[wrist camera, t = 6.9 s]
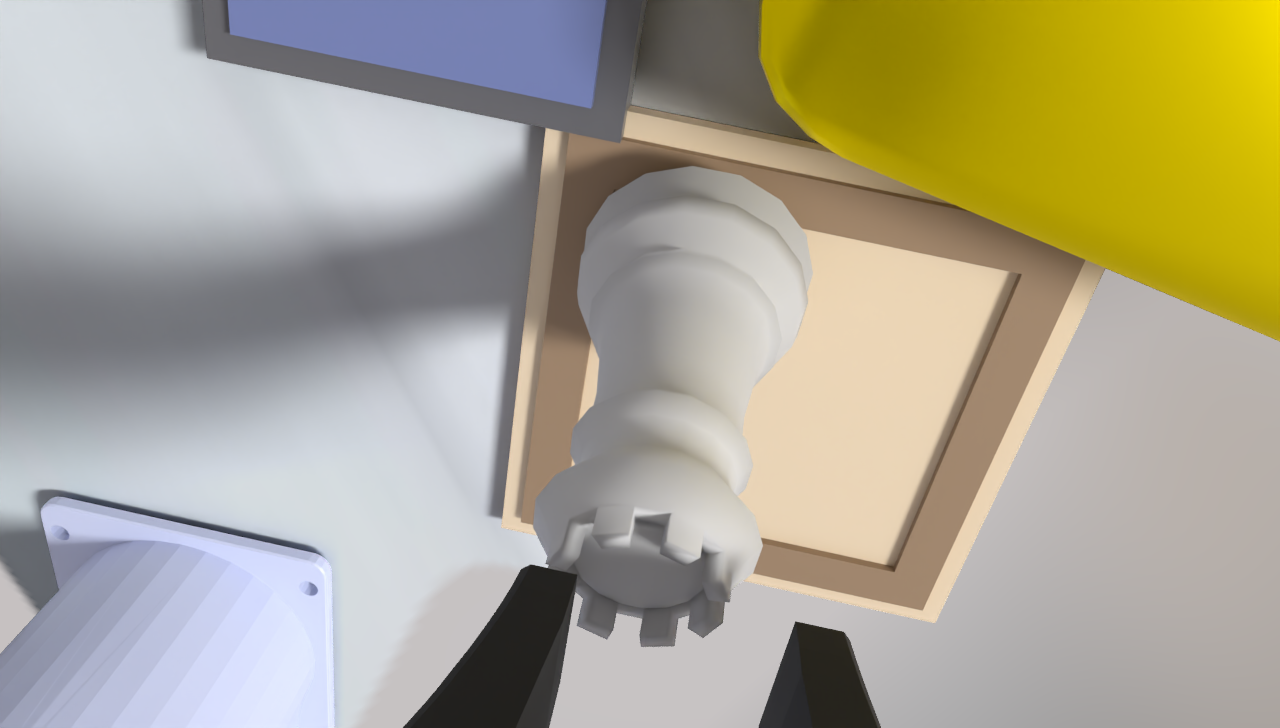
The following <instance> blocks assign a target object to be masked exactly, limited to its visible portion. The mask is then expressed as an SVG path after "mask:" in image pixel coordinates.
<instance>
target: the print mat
mask: <svg viewBox="0 0 1280 728" xmlns="http://www.w3.org/2000/svg"><path fill="white" fill-rule="evenodd" d="M689 166H695V167H701V168H706V169H711V170H716V171H721V172H726V173H731V174H736V175H741V176H743V177H744V178H746V179H747V180H749V181H751V182H752V183H754V184H756V185H757V186H759V187H760V188H762V189H764V190H765V191H767V192H769V193H770V194H772V195H773V196H775V197H777V198H778V199H780V200H781V201H782V202H783V204H784V205H785V206H786V208H787V209H788V210H789V212H790V213H791V215H792V216H793V217H794V219H795V220H796V222H797V223H798V224H799V226H800V227H801V229H802V230H803V231H804V233H805V234H806V236H807V242H808V248H809V253H810V259H811V265H812V271H813V276H812V279H811V282H810V285H809V288H808V291H807V296H808V304H807V308H806V311H805V314H804V317H803V320H802V323H801V326H800V329H799V332H798V335H797V338H796V340H795V341H794V343H793V345H792V347H791V348H790V349H789V350H788V351H787V352H786V354H785V355H784V356H783V357H782V358H781V359H780V360H779V361H778V362H777V363H776V364H775V365H774V366H773V368H772V369H771V370H770V371H769V372H768V373H767V374H766V375H765V376H764V377H763V378H762V379H761V380H760V381H759V382H758V383H757V384H756V385H755V386H754V388H753V390H752V393H751V396H750V400H749V403H748V406H747V410H746V413H745V417H744V425H743V436H744V437H745V438H746V440H747V443H748V447H749V451H750V455H751V459H752V463H753V468H752V471H751V474H750V477H749V480H748V483H747V486H746V489H745V490H744V491H743V492H742V493H741V494H740V495H739V496H738V497H739V499H740V500H741V501H742V502H743V503H744V504H745V505H746V506H747V508H748V509H749V510H750V511H751V512H752V513H753V514H754V515H755V518H756V522H757V526H758V529H759V533H760V537H761V540H762V544H763V547H762V550H761V553H760V556H759V558H758V561H757V564H756V567H755V569H754V572H753V574H751V575H750V576H749V577H748V578H746V579H745V580H744V581H746V582H751V583H755V584H760V585H764V586H769V587H774V588H778V589H782V590H787V591H792V592H796V593H800V594H805V595H809V596H814V597H819V598H824V599H828V600H833V601H837V602H841V603H846V604H851V605H855V606H859V607H864V608H869V609H873V610H878V611H882V612H887V613H891V614H896V615H900V616H905V617H909V618H914V619H919V620H923V621H928V622H932V623H935V622H936V620H937V618H938V616H939V614H940V612H941V610H942V608H943V606H944V603H945V602H946V600H947V597H948V595H949V593H950V591H951V589H952V587H953V585H954V583H955V581H956V579H957V577H958V575H959V572H960V570H961V568H962V566H963V564H964V562H965V560H966V558H967V556H968V554H969V552H970V550H971V547H972V545H973V543H974V541H975V539H976V537H977V535H978V533H979V531H980V529H981V527H982V524H983V522H984V520H985V518H986V516H987V514H988V512H989V510H990V508H991V506H992V504H993V502H994V500H995V497H996V495H997V493H998V491H999V489H1000V487H1001V485H1002V483H1003V481H1004V479H1005V476H1006V474H1007V472H1008V470H1009V468H1010V466H1011V464H1012V462H1013V460H1014V458H1015V456H1016V453H1017V452H1018V450H1019V447H1020V445H1021V443H1022V441H1023V439H1024V437H1025V435H1026V433H1027V431H1028V429H1029V427H1030V425H1031V422H1032V420H1033V418H1034V416H1035V414H1036V412H1037V410H1038V408H1039V406H1040V404H1041V402H1042V399H1043V397H1044V395H1045V393H1046V391H1047V389H1048V387H1049V385H1050V383H1051V381H1052V379H1053V377H1054V375H1055V372H1056V370H1057V368H1058V366H1059V364H1060V362H1061V360H1062V358H1063V356H1064V354H1065V352H1066V350H1067V347H1068V345H1069V343H1070V341H1071V339H1072V337H1073V335H1074V333H1075V331H1076V329H1077V327H1078V325H1079V322H1080V320H1081V318H1082V316H1083V314H1084V312H1085V310H1086V308H1087V306H1088V304H1089V302H1090V300H1091V297H1092V295H1093V293H1094V291H1095V289H1096V287H1097V285H1098V283H1099V281H1100V279H1101V276H1102V275H1103V272H1104V270H1105V268H1104V267H1102V266H1099V265H1097V264H1094V263H1092V262H1090V261H1087V260H1085V259H1082V258H1080V257H1078V256H1075V255H1073V254H1071V253H1068V252H1066V251H1063V250H1061V249H1059V248H1056V247H1054V246H1052V245H1049V244H1047V243H1044V242H1042V241H1040V240H1037V239H1035V238H1032V237H1030V236H1028V235H1025V234H1023V233H1021V232H1018V231H1016V230H1013V229H1011V228H1009V227H1006V226H1004V225H1002V224H999V223H997V222H994V221H992V220H990V219H987V218H985V217H982V216H980V215H978V214H975V213H973V212H971V211H968V210H966V209H963V208H961V207H959V206H956V205H954V204H952V203H949V202H947V201H944V200H942V199H940V198H937V197H935V196H932V195H930V194H928V193H925V192H923V191H921V190H918V189H916V188H913V187H911V186H909V185H906V184H904V183H901V182H899V181H897V180H894V179H892V178H890V177H887V176H885V175H882V174H880V173H878V172H875V171H873V170H871V169H868V168H866V167H863V166H861V165H859V164H856V163H854V162H851V161H849V160H847V159H844V158H842V157H840V156H839V155H837V154H835V153H834V152H832V151H831V150H829V149H828V148H826V147H824V146H823V145H821V144H818V143H813V142H808V141H803V140H798V139H793V138H788V137H784V136H779V135H774V134H769V133H764V132H759V131H754V130H749V129H745V128H740V127H735V126H730V125H725V124H720V123H715V122H710V121H706V120H701V119H696V118H691V117H686V116H681V115H676V114H671V113H667V112H662V111H657V110H652V109H647V108H642V107H637V106H632V105H630V107H629V109H628V111H627V117H626V123H625V130H624V136H623V139H622V141H621V143H616V142H611V141H606V140H601V139H597V138H592V137H587V136H582V135H577V134H572V133H567V132H563V131H558V130H553V129H548V128H546V130H545V139H544V148H543V157H542V166H541V175H540V184H539V193H538V202H537V211H536V220H535V229H534V238H533V247H532V256H531V265H530V274H529V283H528V292H527V301H526V310H525V319H524V328H523V337H522V346H521V355H520V364H519V373H518V382H517V391H516V400H515V409H514V418H513V427H512V436H511V445H510V454H509V463H508V472H507V481H506V490H505V499H504V508H503V517H502V526H501V528H505V529H510V530H514V531H519V532H524V533H528V534H533V535H537V534H536V532H535V530H534V528H533V521H534V510H535V499H536V498H537V496H538V495H539V494H540V493H541V492H542V490H543V489H544V488H545V487H546V486H547V484H548V483H549V482H550V481H551V480H552V478H553V477H554V476H555V475H556V474H558V473H560V472H562V471H564V470H566V469H568V468H570V467H572V466H574V465H575V463H574V461H573V459H572V456H571V454H570V449H571V440H572V432H573V428H574V426H575V425H576V424H577V423H578V422H579V420H580V419H581V418H582V417H583V415H584V414H585V413H586V412H587V410H588V409H589V408H590V407H592V406H593V405H594V401H595V397H596V393H597V381H598V368H599V357H598V355H597V352H596V349H595V347H594V344H593V341H592V339H591V337H590V334H589V332H588V329H587V326H586V324H585V321H584V318H583V316H582V313H581V310H580V307H579V305H578V296H577V288H578V278H579V269H580V260H581V255H582V254H583V252H584V248H585V239H586V230H587V227H588V226H589V224H590V223H591V221H592V220H593V218H594V217H595V215H596V214H597V212H598V211H599V209H600V208H601V206H602V205H603V203H604V202H605V200H606V199H607V197H608V196H609V195H611V194H612V193H614V192H616V191H617V190H619V189H621V188H622V187H624V186H626V185H627V184H629V183H631V182H632V181H634V180H636V179H637V178H639V177H641V176H642V175H644V174H646V173H652V172H658V171H664V170H670V169H677V168H683V167H689Z"/></svg>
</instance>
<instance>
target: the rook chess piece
mask: <svg viewBox="0 0 1280 728" xmlns="http://www.w3.org/2000/svg"><path fill="white" fill-rule="evenodd" d="M812 276H813V271H812V265H811V259H810V253H809V248H808V242H807V236H806V234H805V233H804V231H803V230H802V229H801V227H800V226H799V224H798V223H797V222H796V220H795V219H794V217H793V216H792V215H791V213H790V212H789V210H788V209H787V208H786V206H785V205H784V204H783V202H782V201H781V200H780V199H778V198H777V197H775V196H773V195H772V194H770V193H769V192H767V191H765V190H764V189H762V188H760V187H759V186H757V185H756V184H754V183H752V182H751V181H749V180H747V179H746V178H744V177H743V176H741V175H736V174H731V173H726V172H721V171H716V170H711V169H706V168H701V167H695V166H689V167H683V168H677V169H670V170H664V171H658V172H652V173H646V174H644V175H642V176H641V177H639V178H637V179H636V180H634V181H632V182H631V183H629V184H627V185H626V186H624V187H622V188H621V189H619V190H617V191H616V192H614V193H612V194H611V195H609V196H608V197H607V199H606V200H605V202H604V203H603V205H602V206H601V208H600V209H599V211H598V212H597V214H596V215H595V217H594V218H593V220H592V221H591V223H590V224H589V226H588V227H587V230H586V239H585V248H584V252H583V254H582V255H581V260H580V269H579V278H578V288H577V296H578V305H579V307H580V310H581V313H582V316H583V318H584V321H585V324H586V326H587V329H588V332H589V334H590V337H591V339H592V341H593V344H594V347H595V349H596V352H597V355H598V357H599V368H598V381H597V393H596V397H595V401H594V405H593V406H592V407H590V408H589V409H588V410H587V412H586V413H585V414H584V415H583V417H582V418H581V419H580V420H579V422H578V423H577V424H576V425H575V426H574V428H573V432H572V440H571V449H570V454H571V456H572V459H573V461H574V463H575V465H574V466H572V467H570V468H568V469H566V470H564V471H562V472H560V473H558V474H556V475H555V476H554V477H553V478H552V480H551V481H550V482H549V483H548V484H547V486H546V487H545V488H544V489H543V490H542V492H541V493H540V494H539V495H538V496H537V498H536V499H535V510H534V521H533V528H534V530H535V532H536V534H537V536H538V538H539V540H540V542H541V544H542V546H543V548H544V550H545V552H546V554H547V556H548V557H547V560H546V564H548V565H549V566H548V568H549V569H554V570H558V571H563V572H568V573H572V574H577V575H578V577H577V583H576V589H575V592H576V593H577V594H579V595H580V596H581V597H582V598H583V602H582V606H581V610H580V614H579V619H578V623H577V626H579V627H581V628H583V629H585V630H587V631H589V632H592V633H594V634H596V635H598V636H600V637H603V638H605V639H608V637H609V635H610V634H611V632H612V631H613V628H614V623H615V618H616V613H619V614H623V615H628V616H633V617H637V618H642V625H641V630H640V643H641V647H649V646H650V647H651V646H652V647H657V646H674V645H675V638H676V630H677V624H678V618H682V617H685V616H688V615H690V616H689V623H688V629H690V630H691V631H693V632H695V633H696V634H698V635H699V636H701V637H702V638H704V637H705V636H706V635H708V634H709V633H710V632H711V631H713V630H714V629H715V628H717V627H718V626H719V625H721V624H722V623H723V615H724V604H725V602H730V595H731V590H733V589H734V588H735V587H736V586H738V585H739V584H740V583H741V582H743V581H744V580H745V579H746V578H748V577H749V576H750V575H751V574H753V572H754V569H755V567H756V564H757V561H758V558H759V556H760V553H761V550H762V547H763V544H762V540H761V537H760V533H759V529H758V526H757V522H756V518H755V515H754V514H753V513H752V512H751V511H750V510H749V509H748V508H747V506H746V505H745V504H744V503H743V502H742V501H741V500H740V499H739V497H738V496H739V495H740V494H741V493H742V492H743V491H744V490H745V489H746V486H747V483H748V480H749V477H750V474H751V471H752V468H753V463H752V459H751V455H750V451H749V447H748V443H747V440H746V438H745V437H744V436H743V425H744V417H745V413H746V410H747V406H748V403H749V400H750V396H751V393H752V390H753V388H754V386H755V385H756V384H757V383H758V382H759V381H760V380H761V379H762V378H763V377H764V376H765V375H766V374H767V373H768V372H769V371H770V370H771V369H772V368H773V366H774V365H775V364H776V363H777V362H778V361H779V360H780V359H781V358H782V357H783V356H784V355H785V354H786V352H787V351H788V350H789V349H790V348H791V347H792V345H793V343H794V341H795V340H796V338H797V335H798V332H799V329H800V326H801V323H802V320H803V317H804V314H805V311H806V308H807V304H808V296H807V291H808V288H809V285H810V282H811V279H812Z"/></svg>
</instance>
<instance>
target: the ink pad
mask: <svg viewBox="0 0 1280 728" xmlns="http://www.w3.org/2000/svg"><path fill="white" fill-rule="evenodd" d="M202 3H203V15H204V27H205V39H206V51H207V58H209V59H214V60H219V61H223V62H228V63H233V64H238V65H243V66H248V67H253V68H257V69H262V70H267V71H272V72H277V73H282V74H286V75H291V76H296V77H301V78H306V79H311V80H316V81H320V82H325V83H330V84H335V85H340V86H345V87H349V88H354V89H359V90H364V91H369V92H374V93H378V94H383V95H388V96H393V97H398V98H403V99H408V100H412V101H417V102H422V103H427V104H432V105H437V106H441V107H446V108H451V109H456V110H461V111H466V112H471V113H475V114H480V115H485V116H490V117H495V118H500V119H504V120H509V121H514V122H519V123H524V124H529V125H534V126H538V127H543V128H548V129H553V130H558V131H563V132H567V133H572V134H577V135H582V136H587V137H592V138H597V139H601V140H606V141H611V142H616V143H621V141H622V139H623V136H624V130H625V123H626V117H627V111H628V109H629V107H630V105H631V99H632V93H633V86H634V80H635V74H636V67H637V61H638V55H639V49H640V42H641V36H642V30H643V23H644V17H645V11H646V5H647V0H202Z"/></svg>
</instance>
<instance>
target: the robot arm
mask: <svg viewBox="0 0 1280 728" xmlns="http://www.w3.org/2000/svg"><path fill="white" fill-rule="evenodd" d="M41 518H42V522H43V527H44V531H45V535H46V539H47V543H48V547H49V552H50V556H51V560H52V564H53V568H54V572H55V577H56V581H57V585H58V589H59V591H58V592H57V593H56V594H55V595H54V596H53V597H52V598H51V599H50V600H49V601H48V603H47V604H46V605H45V606H44V607H43V608H42V609H41V610H40V611H39V612H38V613H37V615H36V616H35V617H34V618H33V619H32V620H31V621H30V622H29V623H28V625H27V626H26V627H25V628H24V629H23V630H22V631H21V632H20V633H19V634H18V635H17V636H16V637H15V638H14V640H13V641H12V642H11V643H10V644H9V645H8V646H7V647H6V648H5V649H4V651H3V652H2V653H1V654H0V728H335V716H334V666H333V616H332V570H331V566H330V564H329V563H328V561H327V560H326V559H325V558H324V557H322V556H321V555H318V554H316V553H312V552H308V551H303V550H299V549H294V548H290V547H285V546H281V545H276V544H272V543H267V542H263V541H258V540H254V539H249V538H245V537H240V536H236V535H231V534H227V533H222V532H218V531H213V530H209V529H204V528H200V527H195V526H191V525H186V524H182V523H177V522H173V521H168V520H164V519H159V518H155V517H150V516H146V515H141V514H137V513H132V512H128V511H123V510H119V509H114V508H110V507H105V506H101V505H96V504H92V503H88V502H83V501H79V500H74V499H70V498H65V497H53V498H51V499H50V500H49V501H48V502H46V503H45V504H44V505H43V507H42V508H41ZM577 577H578V575H577V574H572V573H568V572H563V571H558V570H554V569H549V568H545V567H540V566H535V565H529V566H527V567H525V568H523V569H521V570H520V572H519V574H518V576H517V578H516V580H515V582H514V583H513V585H512V587H511V589H510V590H509V592H508V593H507V595H506V597H505V598H504V600H503V601H502V603H501V604H500V606H499V608H498V609H497V610H496V612H495V613H494V615H493V616H492V618H491V619H490V621H489V622H488V623H487V625H486V626H485V628H484V629H483V630H482V632H481V633H480V635H479V636H478V637H477V639H476V640H475V641H474V643H473V644H472V646H471V647H470V648H469V649H468V651H467V652H466V653H465V654H464V656H463V657H462V658H461V659H460V661H459V662H458V663H457V664H456V666H455V667H454V668H453V669H452V671H451V672H450V673H449V675H448V676H447V677H446V678H445V680H444V681H443V682H442V683H441V685H440V686H439V687H438V688H437V690H436V691H435V692H434V693H433V694H432V696H431V697H430V698H429V699H428V700H427V701H426V703H425V704H424V705H423V706H422V707H421V708H420V709H419V710H418V712H417V713H416V714H415V715H414V716H413V717H412V718H411V719H410V720H409V722H408V723H407V724H406V725H405V726H404V727H403V728H549V725H550V721H551V717H552V713H553V709H554V705H555V700H556V697H557V692H558V688H559V684H560V679H561V673H562V667H563V661H564V655H565V648H566V643H567V636H568V631H569V625H570V619H571V613H572V607H573V600H574V595H575V589H576V583H577ZM310 582H311V583H313V584H311V583H310ZM759 728H881V726H880V724H879V721H878V719H877V716H876V713H875V711H874V708H873V706H872V703H871V700H870V698H869V695H868V692H867V690H866V687H865V684H864V681H863V678H862V676H861V673H860V670H859V667H858V664H857V661H856V658H855V655H854V652H853V649H852V646H851V642H850V640H849V639H848V637H847V636H846V634H845V633H844V632H842V631H837V630H832V629H827V628H823V627H818V626H814V625H809V624H805V623H800V622H795V625H794V627H793V630H792V633H791V636H790V639H789V642H788V644H787V647H786V650H785V653H784V656H783V659H782V661H781V664H780V667H779V670H778V673H777V676H776V679H775V682H774V684H773V687H772V690H771V693H770V696H769V699H768V701H767V704H766V707H765V710H764V713H763V716H762V719H761V721H760V724H759Z"/></svg>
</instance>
